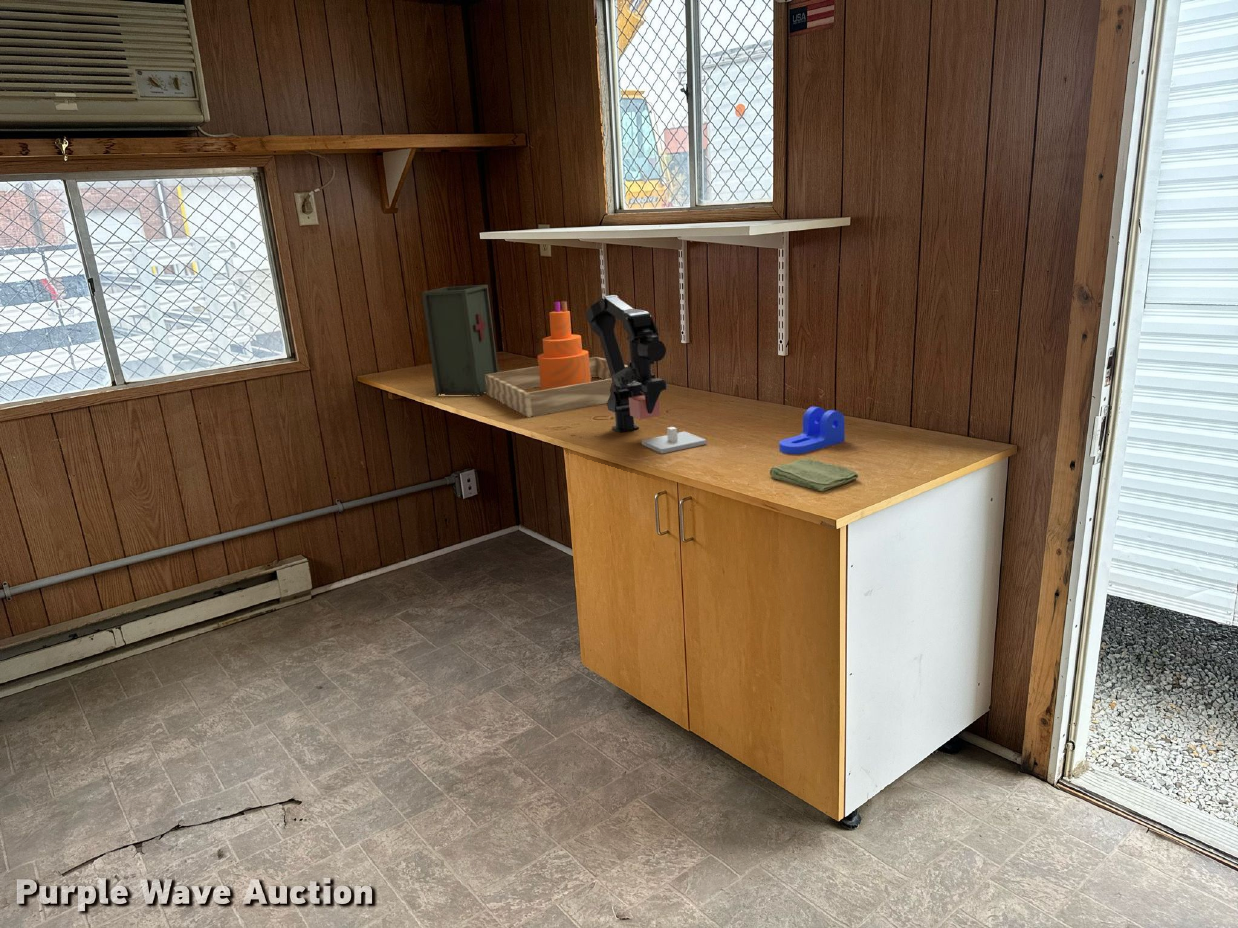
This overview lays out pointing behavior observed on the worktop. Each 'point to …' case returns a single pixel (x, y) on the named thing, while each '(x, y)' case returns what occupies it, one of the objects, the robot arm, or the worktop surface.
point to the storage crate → (548, 390)
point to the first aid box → (460, 338)
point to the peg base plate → (673, 441)
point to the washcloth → (813, 474)
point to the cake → (562, 354)
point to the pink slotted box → (642, 407)
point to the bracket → (816, 432)
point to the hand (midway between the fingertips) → (644, 411)
